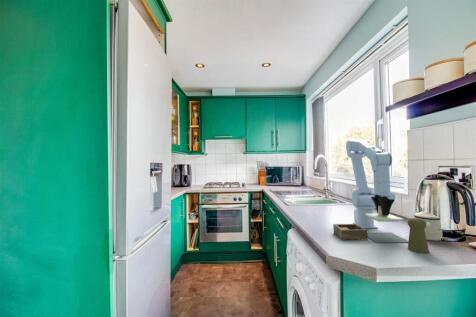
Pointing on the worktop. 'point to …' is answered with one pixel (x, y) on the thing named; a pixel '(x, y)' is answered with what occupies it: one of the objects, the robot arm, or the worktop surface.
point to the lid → (383, 217)
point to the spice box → (350, 232)
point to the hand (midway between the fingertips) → (383, 214)
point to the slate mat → (386, 238)
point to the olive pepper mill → (417, 236)
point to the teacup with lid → (431, 225)
